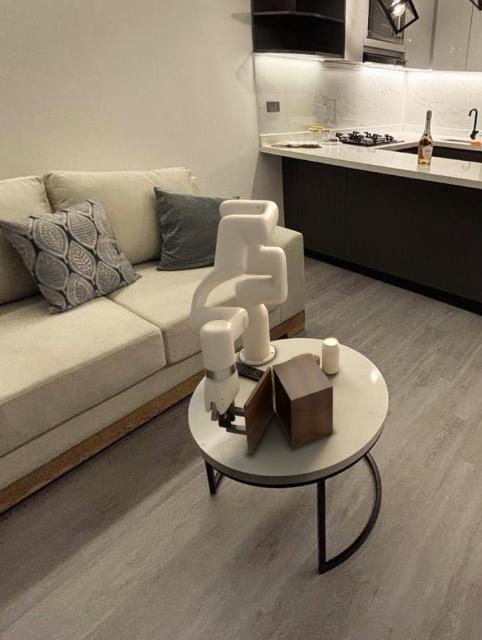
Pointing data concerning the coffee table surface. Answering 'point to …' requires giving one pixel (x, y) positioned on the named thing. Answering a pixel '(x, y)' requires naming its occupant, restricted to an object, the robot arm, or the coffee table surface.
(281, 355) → the coffee table surface
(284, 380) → the cupboard
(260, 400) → the door
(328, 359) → the beverage can
